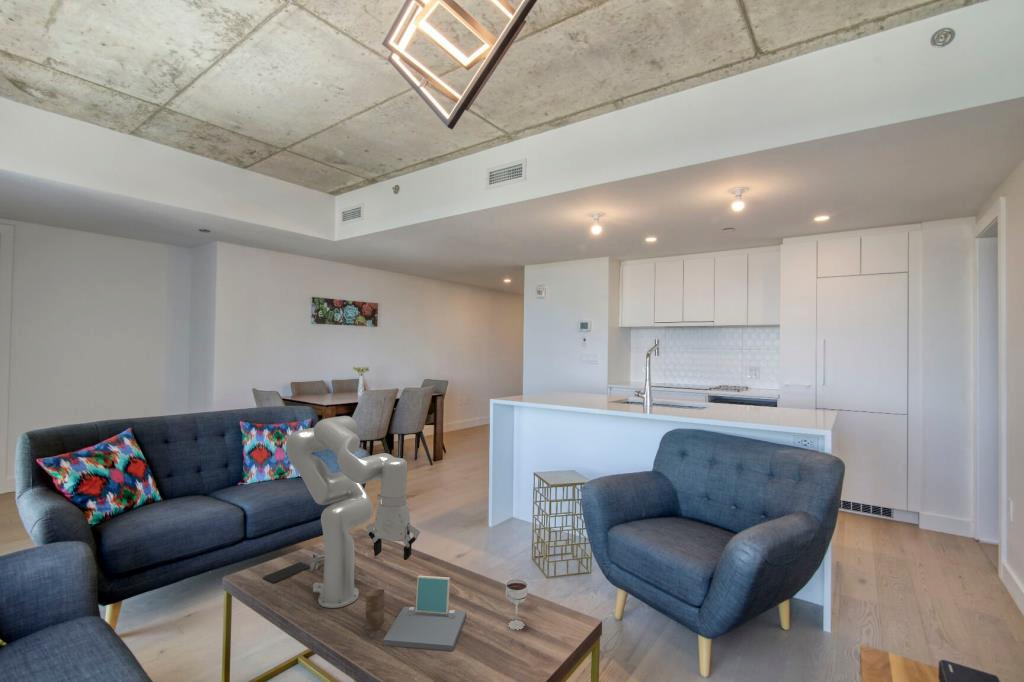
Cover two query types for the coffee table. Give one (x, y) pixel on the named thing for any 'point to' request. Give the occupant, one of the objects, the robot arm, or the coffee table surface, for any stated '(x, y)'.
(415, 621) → the board
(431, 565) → the coffee table surface
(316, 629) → the coffee table surface
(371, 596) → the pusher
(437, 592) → the tile
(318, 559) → the caliper
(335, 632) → the coffee table surface
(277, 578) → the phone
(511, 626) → the wineglass
